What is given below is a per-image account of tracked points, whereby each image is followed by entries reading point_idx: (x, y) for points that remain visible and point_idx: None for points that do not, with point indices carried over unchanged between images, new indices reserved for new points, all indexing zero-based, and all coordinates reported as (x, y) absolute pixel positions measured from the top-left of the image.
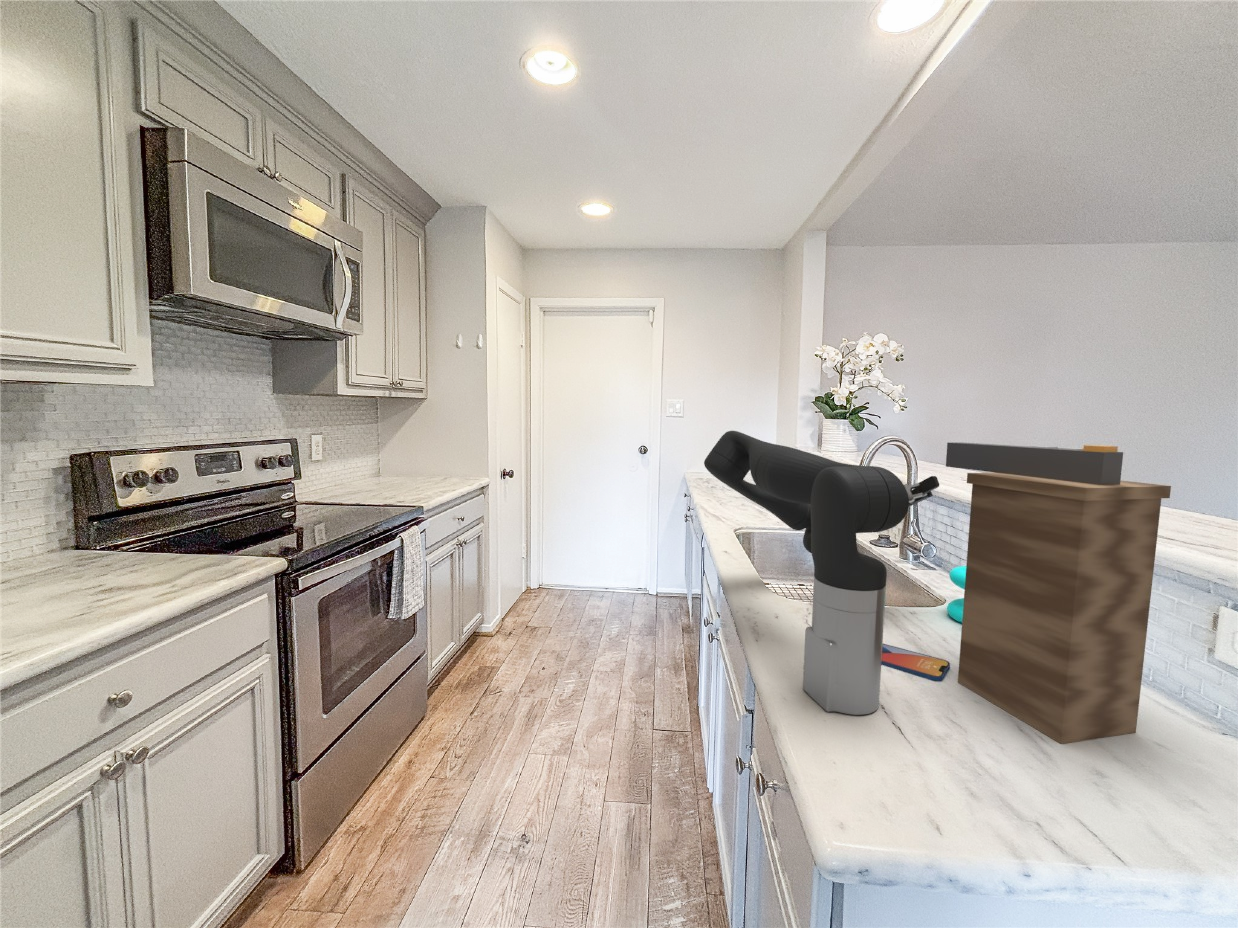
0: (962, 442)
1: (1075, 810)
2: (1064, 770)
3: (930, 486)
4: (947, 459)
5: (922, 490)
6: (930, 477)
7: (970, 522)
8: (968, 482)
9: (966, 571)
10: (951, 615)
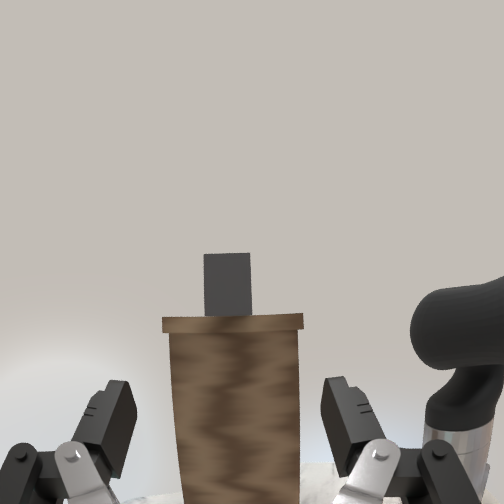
0: (204, 254)
1: (329, 477)
2: (306, 493)
3: (127, 428)
4: (251, 296)
5: (117, 466)
6: (124, 389)
7: (298, 388)
8: (302, 327)
9: (299, 456)
10: None
